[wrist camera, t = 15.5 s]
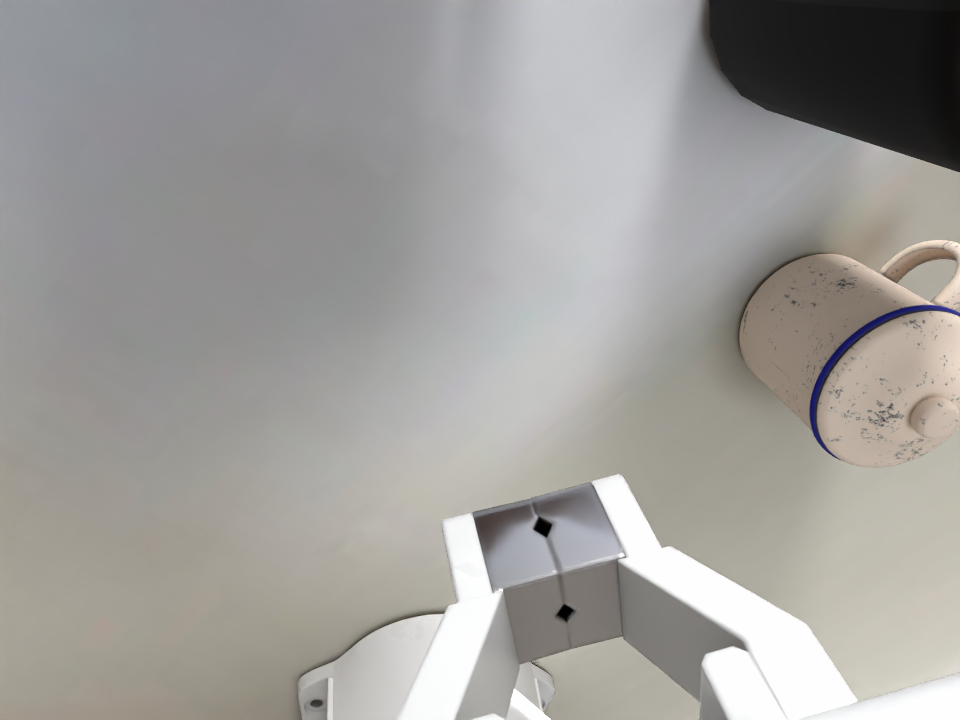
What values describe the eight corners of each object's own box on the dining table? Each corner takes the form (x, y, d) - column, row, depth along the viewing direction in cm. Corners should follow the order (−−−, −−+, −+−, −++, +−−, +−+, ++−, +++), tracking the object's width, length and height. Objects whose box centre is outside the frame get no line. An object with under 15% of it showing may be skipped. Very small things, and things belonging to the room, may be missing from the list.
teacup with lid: (800, 408, 47) (925, 527, 37) (702, 344, 43) (810, 456, 33) (941, 256, 43) (1124, 343, 33) (846, 173, 40) (1016, 241, 30)
